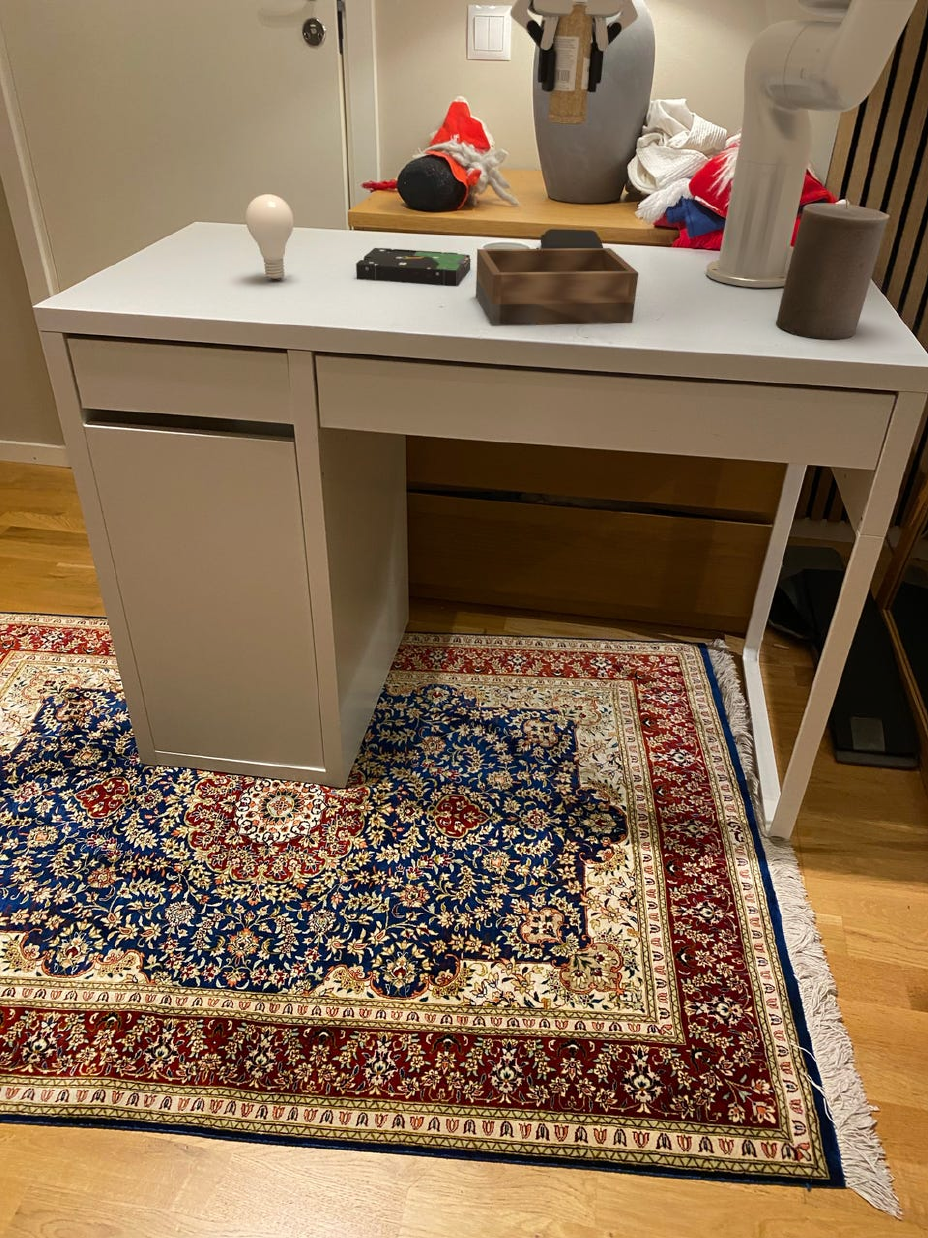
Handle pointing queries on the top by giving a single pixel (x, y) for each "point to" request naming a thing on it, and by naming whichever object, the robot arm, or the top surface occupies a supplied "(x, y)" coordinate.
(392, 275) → the disk drive
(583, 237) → the carrying case or bag
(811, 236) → the pillar candle
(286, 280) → the top surface
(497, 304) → the wooden box
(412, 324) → the top surface
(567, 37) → the spice jar
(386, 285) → the top surface
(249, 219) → the lightbulb
